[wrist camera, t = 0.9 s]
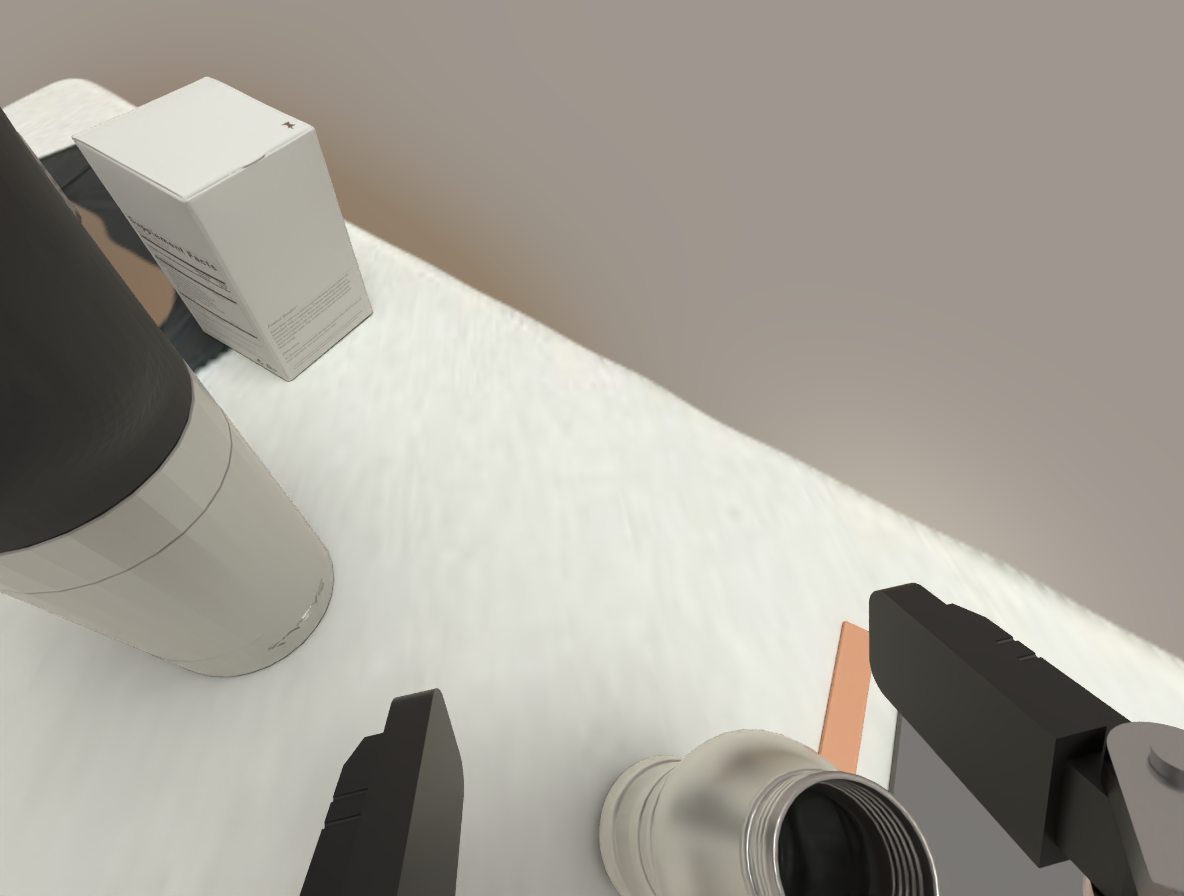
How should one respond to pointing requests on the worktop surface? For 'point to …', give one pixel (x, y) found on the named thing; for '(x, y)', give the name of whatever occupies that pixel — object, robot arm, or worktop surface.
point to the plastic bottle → (759, 826)
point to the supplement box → (236, 219)
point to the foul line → (847, 700)
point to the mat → (967, 830)
